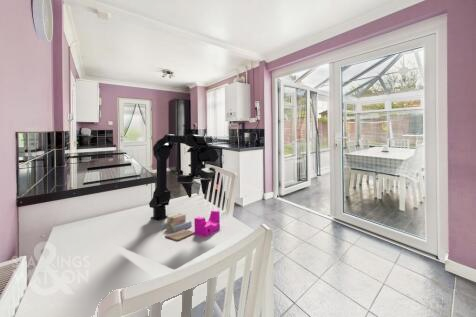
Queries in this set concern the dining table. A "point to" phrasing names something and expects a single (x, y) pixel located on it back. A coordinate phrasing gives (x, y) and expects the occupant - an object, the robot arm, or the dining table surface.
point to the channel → (178, 226)
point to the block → (175, 220)
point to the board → (180, 234)
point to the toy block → (207, 224)
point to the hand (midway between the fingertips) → (197, 195)
